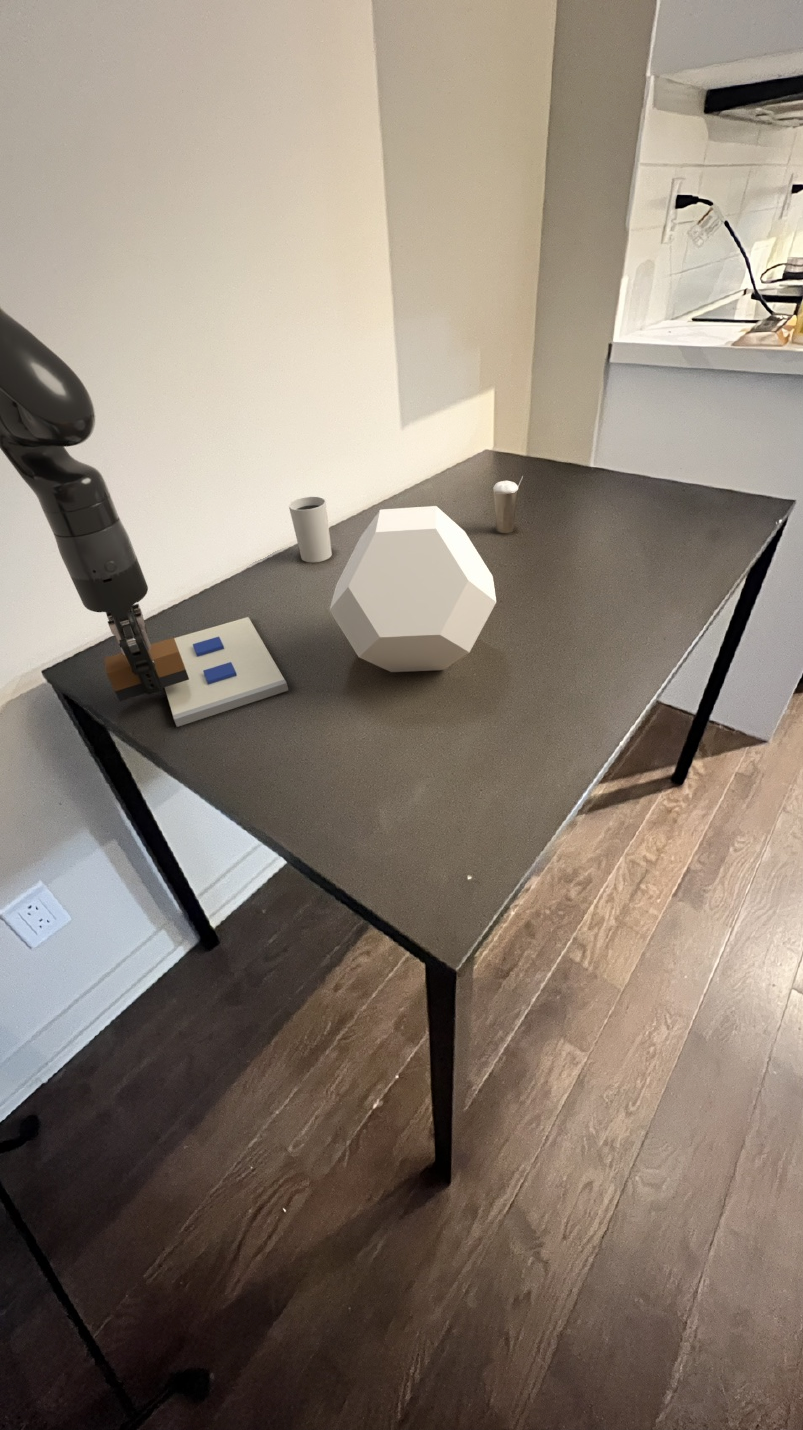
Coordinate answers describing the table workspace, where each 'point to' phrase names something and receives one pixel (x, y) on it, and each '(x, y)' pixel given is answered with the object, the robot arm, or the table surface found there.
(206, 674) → the blue rectangular block
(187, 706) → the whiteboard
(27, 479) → the robot arm
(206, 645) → the blue flat block
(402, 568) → the geometric form
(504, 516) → the milkshake
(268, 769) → the table surface
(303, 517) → the white cup
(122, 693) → the eraser
